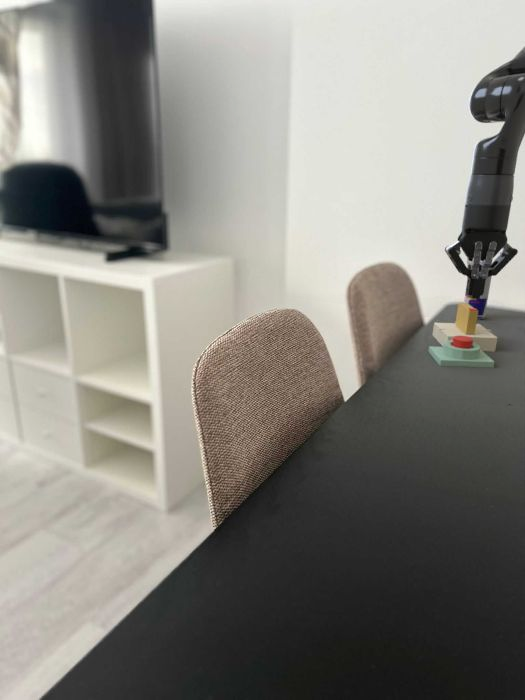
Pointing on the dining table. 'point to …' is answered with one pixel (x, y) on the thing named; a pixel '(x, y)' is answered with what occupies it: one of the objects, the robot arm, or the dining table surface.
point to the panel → (480, 337)
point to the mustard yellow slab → (466, 318)
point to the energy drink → (480, 300)
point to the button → (462, 342)
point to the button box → (460, 356)
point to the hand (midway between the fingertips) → (473, 297)
